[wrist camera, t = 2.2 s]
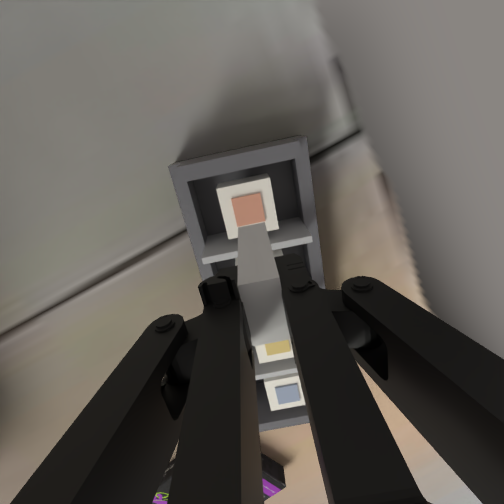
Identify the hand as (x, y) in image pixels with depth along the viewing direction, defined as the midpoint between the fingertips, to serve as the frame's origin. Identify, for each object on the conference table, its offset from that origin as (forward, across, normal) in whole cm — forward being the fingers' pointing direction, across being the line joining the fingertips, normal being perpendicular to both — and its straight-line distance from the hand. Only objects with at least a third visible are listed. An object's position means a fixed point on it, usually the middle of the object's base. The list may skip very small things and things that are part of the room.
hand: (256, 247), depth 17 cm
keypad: (+14, 0, -11) cm, 18 cm away
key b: (+11, 0, -21) cm, 24 cm away
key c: (+11, 0, 0) cm, 11 cm away
